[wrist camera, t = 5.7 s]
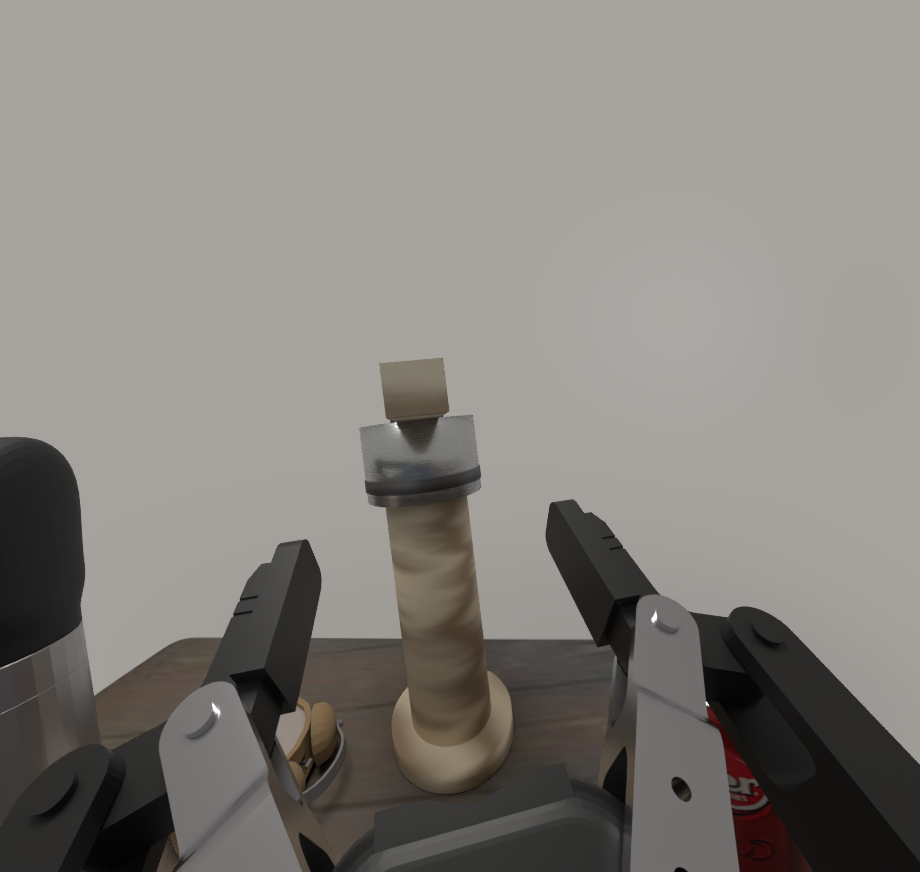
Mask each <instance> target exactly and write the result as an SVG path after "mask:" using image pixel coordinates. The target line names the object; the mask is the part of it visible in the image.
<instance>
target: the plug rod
mask: <svg viewBox="0 0 920 872" xmlns="http://www.w3.org/2000/svg"><path fill="white" fill-rule="evenodd" d="M379 365H380V373H381V381H382V389H383V397H384V404H385V413H386V418H387V419H389V420H390V421H391V423H395V422H396V423H397V422H405V421H413V420H422V419H432V418H440V417H443V415H444V414H446V413H447V412H448V411H449V405H448V396H447V389H446V379H445V371H444V362H443V358H436V359H424V360H413V361H401V362H390V363H380V364H379Z"/></svg>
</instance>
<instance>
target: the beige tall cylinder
mask: <svg viewBox="0 0 920 872" xmlns="http://www.w3.org/2000/svg"><path fill="white" fill-rule="evenodd" d="M359 430H360V438H361V445H362V453H363V462H364V470H365V478H366V480H365V486H366V493H367V494H368V502H369V504H371V505H373V506H378V507H386V514H387V522H388V529H389V538H390V545H391V553H392V562H393V570H394V578H395V586H396V594H397V602H398V611H399V619H400V627H401V634H402V643H403V651H404V659H405V667H406V675H407V683H408V687H407V688H406V690H405V691H404V692H403V693H402V695H401V696H400V698H399V700H398V702H397V704H396V706H395V709H394V711H393V716H392V723H391V727H392V738H393V745H394V753H395V757H396V761H397V764H398V766H399V768H400V770H401V771H402V773H403V774H404V776H405V777H406V778H407V779H408V780H409V781H410V782H411V783H413V784H414V785H415V786H417V787H419V788H421V789H422V790H425V791H428V792H431V793H437V794H455V793H460V792H464V791H467V790H470V789H472V788H474V787H477V786H478V785H480V784H482V783H483V782H485V781H486V780H487V779H489V778H490V777H491V776H492V775H493V774H494V773H495V772H496V771H497V770H498V769H499V768H500V766H501V765H502V764H503V762H504V761H505V759H506V757H507V755H508V753H509V751H510V748H511V745H512V741H513V734H514V724H513V715H512V706H511V700H510V696H509V693H508V691H507V689H506V687H505V685H504V684H503V683H502V681H501V680H500V679H499V678H498V677H497V676H496V675H494V674H493V673H492V672H490V671H488V670H487V664H486V656H485V647H484V639H483V630H482V622H481V613H480V604H479V596H478V587H477V579H476V570H475V561H474V553H473V544H472V536H471V527H470V519H469V510H468V501H467V495H470V494H472V493H474V492H476V491H478V490H479V489H480V488H481V481H480V477H481V472H480V465H479V463H478V455H477V446H476V437H475V429H474V420H473V415H464V416H451V417H440V418H432V419H422V420H413V421H405V422H397V423H396V422H395V423H388V424H380V425H373V426H367V427H361V428H359Z"/></svg>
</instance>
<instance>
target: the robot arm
mask: <svg viewBox="0 0 920 872" xmlns="http://www.w3.org/2000/svg"><path fill="white" fill-rule="evenodd" d="M546 542H547V546H548V549H549V552H550V553H551V555H552V557H553V560H554V561H555V563H556V565H557V568H558V569H559V571H560V573H561V575H562V577H563V579H564V581H565V583H566V585H567V587H568V589H569V591H570V593H571V595H572V597H573V599H574V601H575V603H576V605H577V607H578V609H579V611H580V613H581V615H582V617H583V619H584V621H585V623H586V625H587V627H588V629H589V631H590V633H591V635H592V637H593V639H594V641H595V643H596V645H597V647H601V646H606V645H611V647H612V649H613V651H614V653H615V658H614V666H613V676H612V686H611V696H610V705H609V715H608V725H607V732H606V737H605V741H604V745H603V750H602V755H601V761H600V768H599V777H598V785H596V784H594V783H592V782H590V781H587V780H585V779H582V778H579V777H575V776H570V775H567V772H566V768H565V765H564V763H562V764H558V765H554V766H550V767H546V768H543V769H539V770H535V771H531V772H528V773H524V774H520V775H519V776H517V777H516V778H514V779H513V780H512V781H510V782H509V783H507V784H506V785H505V786H503V787H502V788H501V789H499V790H498V791H496V792H495V793H494V794H492V795H491V796H489V797H488V798H487V799H485V800H484V801H482V802H481V803H479V804H478V805H474V806H469V805H461V804H453V803H445V802H436V801H428V800H422V801H418V802H415V803H411V804H407V805H403V806H399V807H396V808H392V809H388V810H384V811H381V812H377V813H375V825H374V828H372V829H371V830H369V831H368V832H367V833H365V834H364V835H363V836H362V837H361V838H360V839H359V840H358V841H356V842H355V843H354V844H353V846H352V847H351V848H350V849H349V850H348V851H347V852H346V853H345V854H344V856H343V857H342V858H341V860H340V861H339V862H338V861H337V859H336V857H335V855H334V853H333V851H332V848H331V846H330V844H329V842H328V840H327V838H326V836H325V834H324V832H323V830H322V828H321V826H320V825H319V823H318V821H317V820H316V818H315V817H314V815H313V813H312V812H311V810H310V808H309V806H308V804H307V802H306V800H305V798H304V795H303V793H302V791H301V789H300V787H299V784H298V782H297V780H296V778H295V776H294V773H293V771H292V769H291V767H290V765H289V762H288V760H287V758H286V756H285V753H284V751H283V749H282V747H281V745H280V742H279V740H278V738H277V736H276V731H277V727H278V723H279V719H280V715H283V714H287V713H292V712H296V707H297V702H298V697H299V692H300V688H301V683H302V678H303V673H304V668H305V663H306V659H307V654H308V649H309V644H310V639H311V635H312V630H313V625H314V620H315V615H316V610H317V606H318V600H319V596H320V591H321V572H320V568H319V566H318V563H317V561H316V559H315V556H314V553H313V551H312V549H311V546H310V544H309V542H308V540H306V539H305V540H298V541H292V542H285V543H280V544H279V545H278V546H277V548H276V551H275V554H274V556H273V559H272V562H271V563H265V564H261V565H260V566H259V567H258V569H257V570H256V571H255V572H254V573H253V575H252V576H251V577H250V578H249V579H248V581H247V583H246V585H245V588H244V590H243V592H242V594H241V597H240V602H238V604H237V606H236V609H235V611H234V613H233V615H234V616H233V617H232V618H231V620H230V622H229V625H228V627H227V630H226V632H225V634H224V636H223V639H222V641H221V643H220V646H219V648H218V650H217V653H216V655H215V657H214V660H213V662H212V664H211V667H210V669H209V671H208V674H207V676H206V678H205V680H204V682H203V684H202V685H201V687H200V688H199V689H198V690H196V691H195V692H193V693H192V694H191V695H189V696H188V697H187V698H186V699H185V700H184V701H183V702H182V703H181V704H180V705H179V706H178V707H177V708H176V709H175V711H174V712H173V713H172V715H171V716H170V718H169V719H168V720H167V721H165V722H164V723H162V724H160V725H159V726H157V727H155V728H153V729H151V730H149V731H147V732H145V733H143V734H141V735H140V736H138V737H136V738H134V739H132V740H130V741H128V742H126V743H124V744H122V745H120V746H118V747H117V748H115V749H113V750H109V749H107V748H106V747H104V746H102V745H101V739H100V732H99V726H98V719H97V713H96V706H95V699H94V693H93V686H92V680H91V673H90V667H89V660H88V655H87V648H86V641H85V634H84V628H83V621H82V616H81V606H80V604H81V597H82V592H83V587H84V581H85V563H84V554H83V542H82V526H81V509H80V498H79V491H78V486H77V481H76V478H75V475H74V473H73V470H72V468H71V466H70V464H69V463H68V461H67V460H66V458H65V457H64V456H63V455H62V454H61V453H60V452H59V451H58V450H57V449H56V448H54V447H53V446H51V445H49V444H47V443H45V442H43V441H40V440H37V439H32V438H26V437H2V438H0V872H156V871H157V868H158V865H159V862H160V859H161V856H162V853H163V850H164V847H165V844H166V841H167V839H168V836H169V835H170V834H171V833H173V832H174V831H175V832H176V837H177V842H178V848H179V862H178V864H177V866H176V867H175V868H174V870H173V872H739V864H738V856H737V848H736V840H735V832H734V824H733V816H732V809H731V801H730V793H729V785H728V777H727V769H726V761H725V753H724V747H723V741H722V737H721V734H720V732H719V729H718V728H717V726H716V725H714V724H712V723H711V722H710V720H709V718H708V714H707V707H706V702H707V703H708V705H709V706H710V708H711V710H712V711H713V713H714V714H715V716H716V717H717V719H718V721H719V722H720V724H721V725H722V727H723V729H724V730H725V732H726V733H727V735H728V737H729V738H730V740H731V741H732V743H733V745H734V746H735V748H736V749H737V751H738V753H739V754H740V756H741V757H742V759H743V761H744V762H745V764H746V765H747V767H748V769H749V770H750V772H751V773H752V775H753V776H754V778H755V780H756V781H757V783H758V784H759V786H760V788H761V789H762V791H763V792H764V794H765V796H766V797H767V799H768V800H769V802H770V804H771V805H772V807H773V808H774V810H775V812H776V813H777V815H778V816H779V818H780V820H781V821H782V823H783V824H784V826H785V828H786V829H787V831H788V832H789V834H790V835H791V837H792V839H793V840H794V842H795V843H796V845H797V847H798V848H799V850H800V851H801V853H802V855H803V856H804V858H805V859H806V861H807V863H808V864H809V866H810V867H811V869H812V871H813V872H920V764H919V763H917V761H916V760H915V759H914V758H913V757H912V756H911V755H910V754H909V753H908V752H907V751H906V750H905V749H904V748H903V747H902V746H901V745H900V744H899V743H898V741H897V740H896V739H895V738H894V737H893V736H892V735H891V734H890V733H889V732H888V731H887V730H886V729H885V728H884V727H883V726H882V725H881V724H880V723H879V722H878V721H877V720H876V718H875V717H873V716H872V715H871V713H869V711H868V710H867V709H866V708H865V707H864V706H863V705H862V704H861V703H860V702H859V701H858V700H857V699H856V698H855V697H854V696H853V695H852V694H851V692H850V691H849V690H848V689H847V688H846V687H845V686H844V685H843V684H842V683H841V682H840V681H839V680H838V679H837V678H836V677H835V676H834V675H833V674H832V673H831V672H830V670H828V668H827V667H825V665H824V664H823V663H822V662H821V661H820V660H819V659H818V658H817V657H816V656H815V655H814V654H813V653H812V652H811V651H810V650H809V649H808V648H807V646H806V645H805V644H804V643H803V642H802V641H801V640H800V639H799V638H798V637H797V636H796V635H795V634H794V633H793V632H792V631H791V630H790V629H789V628H788V627H787V626H786V625H785V624H783V623H782V622H781V621H780V620H778V619H777V618H775V617H774V616H772V615H770V614H768V613H766V612H764V611H762V610H759V609H756V608H752V607H738V608H736V609H734V610H733V611H732V612H731V614H730V615H729V617H720V616H713V615H705V614H699V613H693V612H689V611H687V610H686V609H685V608H684V607H683V606H681V605H680V604H679V603H677V602H676V601H674V600H672V599H670V598H668V597H665V596H661V595H660V594H659V593H658V592H657V591H656V590H655V588H654V587H653V586H652V584H651V583H650V582H649V580H648V579H647V578H646V576H645V575H644V574H643V572H642V571H641V570H640V568H639V567H638V566H637V564H636V563H635V562H634V560H633V559H632V558H631V557H630V555H629V554H628V552H627V551H626V550H625V549H623V546H622V544H621V543H620V542H619V540H618V539H617V538H615V535H614V534H613V532H612V531H611V530H610V528H609V527H608V526H607V524H606V523H605V522H604V521H602V520H601V519H599V518H598V517H597V516H595V515H594V514H593V513H591V512H590V513H584V512H583V511H582V509H581V508H580V507H579V505H578V504H577V502H576V501H574V500H565V501H558V502H552V503H551V504H550V507H549V513H548V520H547V527H546Z"/></svg>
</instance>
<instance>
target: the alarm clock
mask: <svg viewBox="0 0 920 872" xmlns="http://www.w3.org/2000/svg"><path fill="white" fill-rule="evenodd" d="M342 725H343V720H341V719H340V720H338V717H336V714H335V712H334V709H333V708H332V707H331V706H330V705H329V704H327V703H324V702H320V703H316V704H314V706H313V709H312V713H311V710H310V706H309V703H307V702H306V701H305V700H303V699H302V698H300V697H298V702H297V707H296V712H292V713H287V714H283V715H280V719H279V723H278V727H277V731H276V736H277V738H278V740H279V742H280V745H281V747H282V749H283V751H284V753H285V756H286V758H287V760H288V762H289V765H290V767H291V769H292V771H293V773H294V776H295V778H296V780H297V782H298V784H299V787H300V789H301V791H302V793H303V795H304V798H305V800H306V802H307V804H309V803H310V802H312V801H313V800H314V799H316V798H317V797H318V796H319V795H320V794H321V793H322V792H323V791H324V790H325V789H326V788H327V787H328V786H329V785H330V783H331V782H332V781H333V779H334V778H335V776H336V775H337V773H338V772H339V770H340V768H341V766H342V763H343V761H344V757H345V753H346V744H345V739H344V735H343V732H342V730H341V729H340V727H341V726H342ZM338 734H339V738H340V740H341V745H340V748H339V751H338V754H337V756H336V758H335V760H334V761H333V763H332V764H331V766H330V768H329V769H328V770H327V771H326V772H325V774H324V775H323V776H322V777H321V778H320V779H319V780H318V781H317V782H316V783H315V784H314V785H312V786H311V787H310V788H308V789H307V790H306V783H305V780H306V778H307V776H308V774H309V772H310V770H311V768H312V765H313V763H314V761H315V763H316V765H317V766H320V765H321V764H323V763H324V762H326V761H327V760H328V759H329V758H330V756H331V755H332V753H333V751H334V749H335V746H336V743H337V737H338ZM170 837H171V841H172V844H173V847H174V849H175V852H176V855H178V856H179V848H178V842H177V837H176V832H175V831H174V832H173V833H171V836H170Z"/></svg>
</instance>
